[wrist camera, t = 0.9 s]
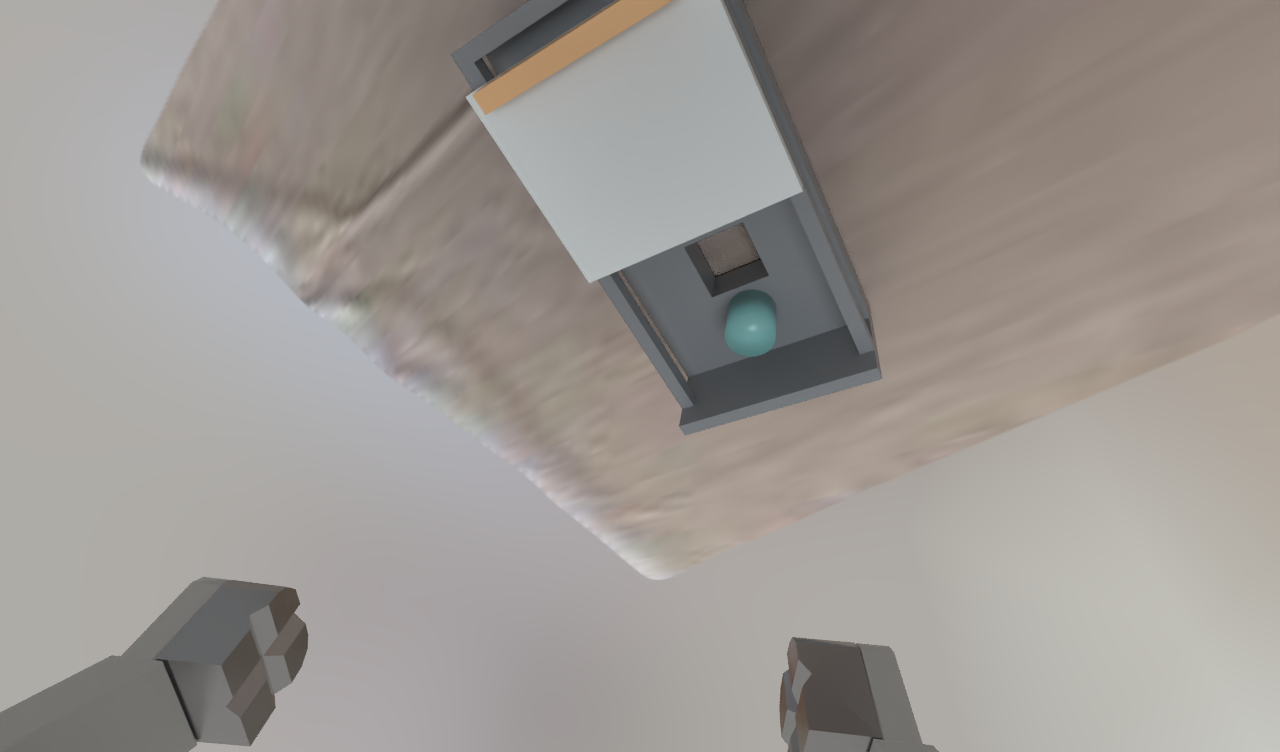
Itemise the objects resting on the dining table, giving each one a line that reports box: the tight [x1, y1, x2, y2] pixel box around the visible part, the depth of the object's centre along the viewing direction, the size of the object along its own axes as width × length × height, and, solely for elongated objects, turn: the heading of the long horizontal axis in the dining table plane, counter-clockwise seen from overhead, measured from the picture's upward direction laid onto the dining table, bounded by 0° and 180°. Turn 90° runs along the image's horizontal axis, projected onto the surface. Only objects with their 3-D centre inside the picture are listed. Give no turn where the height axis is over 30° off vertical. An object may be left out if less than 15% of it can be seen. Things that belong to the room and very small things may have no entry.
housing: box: [451, 0, 882, 435], centre depth 44 cm, size 15×30×9 cm, turn 30°
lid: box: [466, 0, 803, 283], centre depth 38 cm, size 15×14×3 cm
